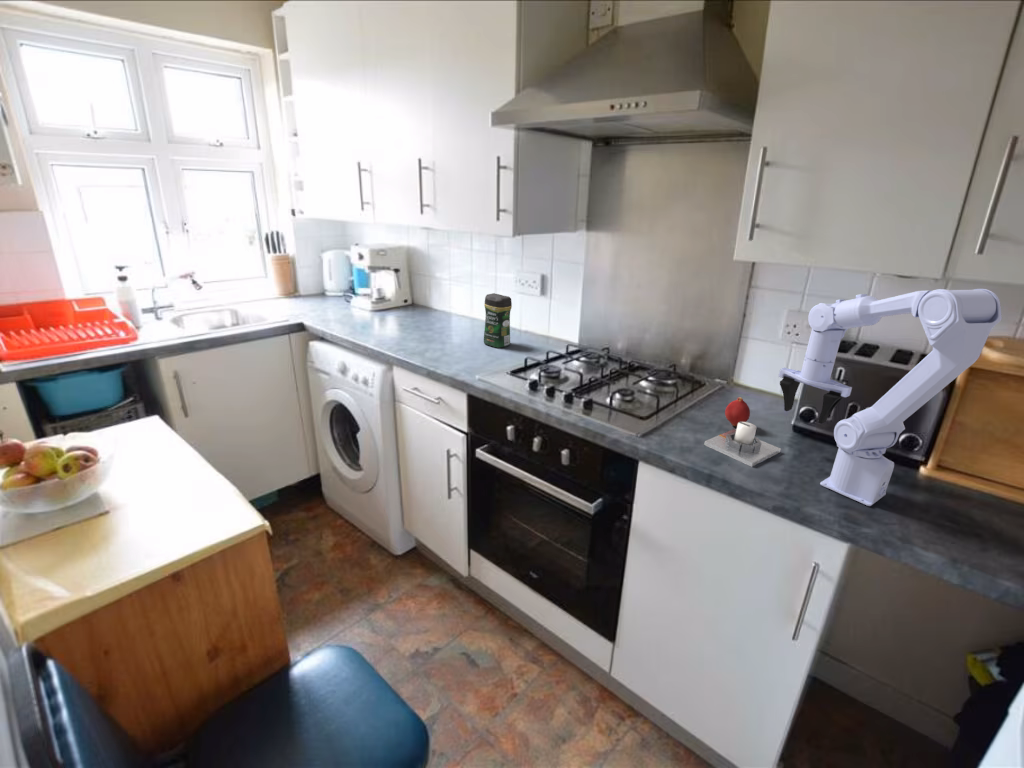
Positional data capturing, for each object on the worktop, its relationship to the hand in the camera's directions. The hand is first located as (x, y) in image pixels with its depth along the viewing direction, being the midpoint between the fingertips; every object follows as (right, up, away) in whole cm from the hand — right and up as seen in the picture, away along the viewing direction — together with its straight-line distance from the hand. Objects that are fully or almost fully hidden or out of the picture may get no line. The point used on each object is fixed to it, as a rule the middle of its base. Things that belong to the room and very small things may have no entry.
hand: (804, 415), depth 117 cm
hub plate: (-12, -8, +4) cm, 15 cm away
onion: (-9, -4, +16) cm, 19 cm away
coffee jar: (-72, +21, +74) cm, 105 cm away
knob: (-12, -7, +4) cm, 15 cm away
